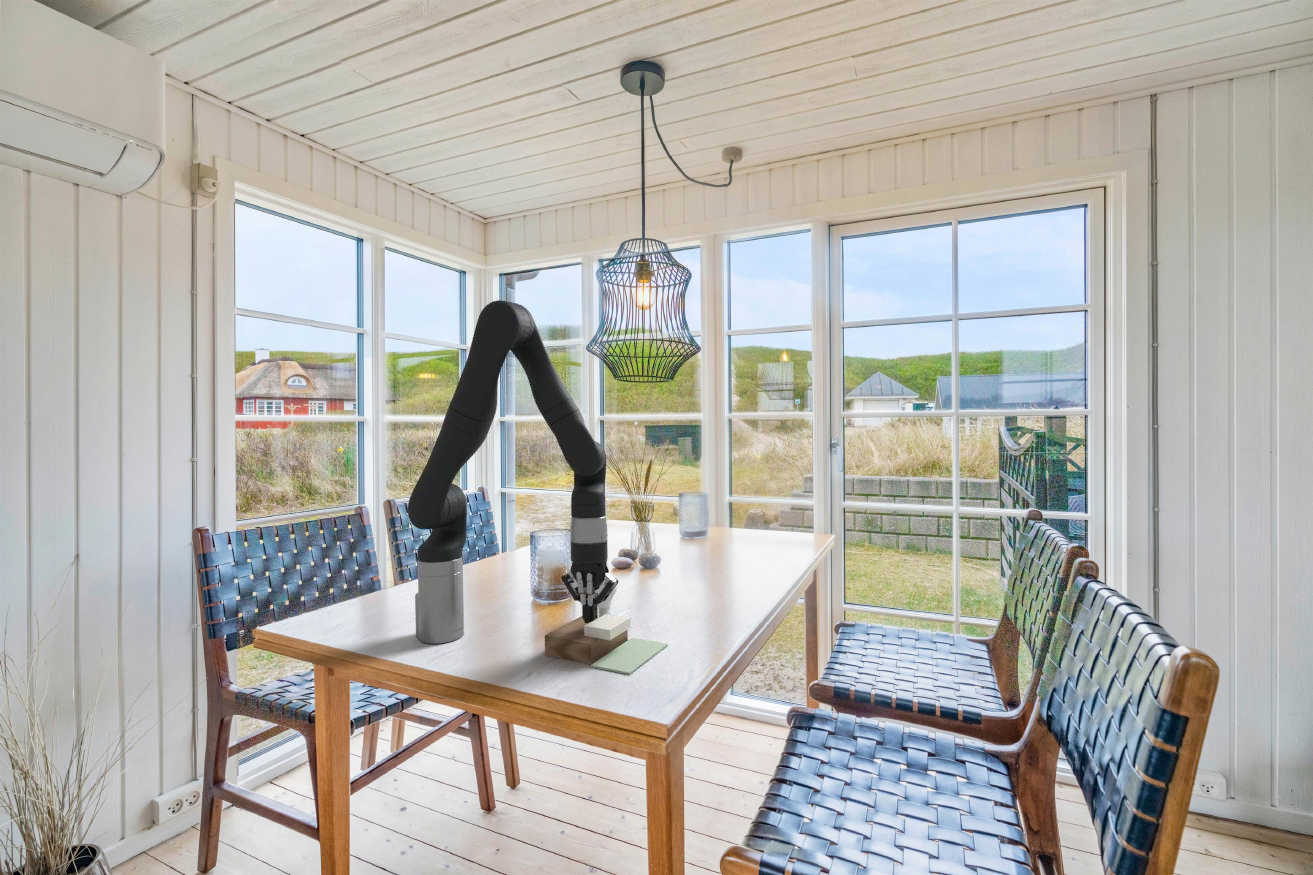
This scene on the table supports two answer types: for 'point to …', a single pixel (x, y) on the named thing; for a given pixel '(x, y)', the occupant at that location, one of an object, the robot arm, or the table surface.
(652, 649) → the mat
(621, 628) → the white flat block
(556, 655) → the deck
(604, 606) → the lightbulb
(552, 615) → the table surface
